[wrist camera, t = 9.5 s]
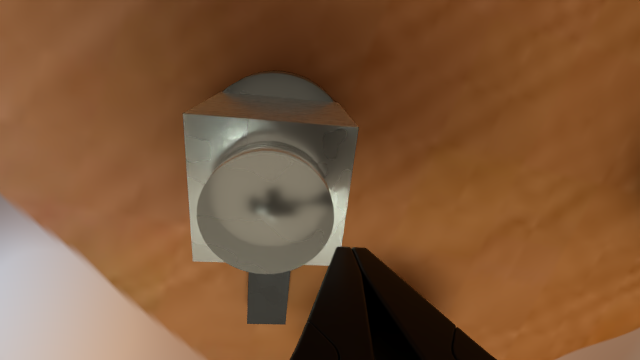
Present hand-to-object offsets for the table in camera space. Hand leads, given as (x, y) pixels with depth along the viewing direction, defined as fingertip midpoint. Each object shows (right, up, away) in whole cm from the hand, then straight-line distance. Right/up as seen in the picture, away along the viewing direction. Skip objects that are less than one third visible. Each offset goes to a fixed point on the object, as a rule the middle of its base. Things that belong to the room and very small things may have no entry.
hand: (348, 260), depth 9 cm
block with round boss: (-3, +4, +8) cm, 9 cm away
